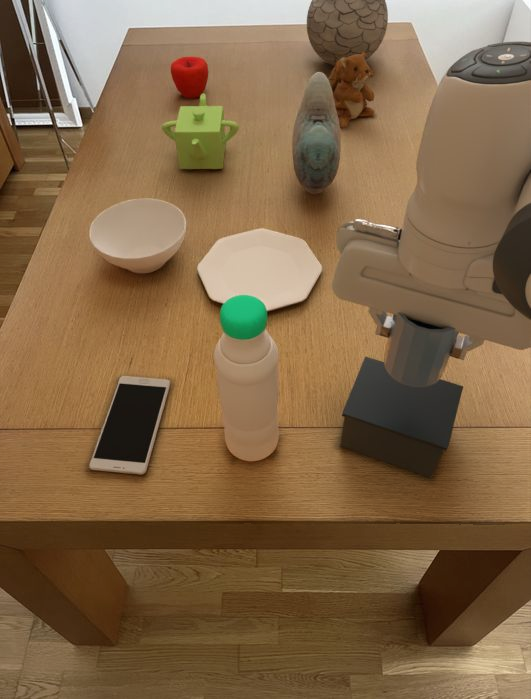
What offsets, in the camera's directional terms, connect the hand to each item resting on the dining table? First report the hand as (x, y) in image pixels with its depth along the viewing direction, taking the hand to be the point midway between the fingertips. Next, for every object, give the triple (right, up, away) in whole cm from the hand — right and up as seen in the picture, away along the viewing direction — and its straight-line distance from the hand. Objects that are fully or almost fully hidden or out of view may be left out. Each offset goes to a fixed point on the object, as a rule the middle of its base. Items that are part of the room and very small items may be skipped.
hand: (420, 343), depth 61 cm
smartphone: (-35, -11, +16) cm, 40 cm away
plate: (-18, +12, +35) cm, 41 cm away
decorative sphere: (+4, +74, +86) cm, 113 cm away
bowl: (-38, +15, +38) cm, 55 cm away
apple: (-35, +61, +77) cm, 104 cm away
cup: (0, -2, +3) cm, 4 cm away
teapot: (-30, +39, +58) cm, 76 cm away
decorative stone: (-7, +31, +51) cm, 60 cm away
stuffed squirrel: (+1, +54, +70) cm, 88 cm away
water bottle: (-18, -13, +14) cm, 26 cm away
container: (0, -12, +14) cm, 18 cm away
